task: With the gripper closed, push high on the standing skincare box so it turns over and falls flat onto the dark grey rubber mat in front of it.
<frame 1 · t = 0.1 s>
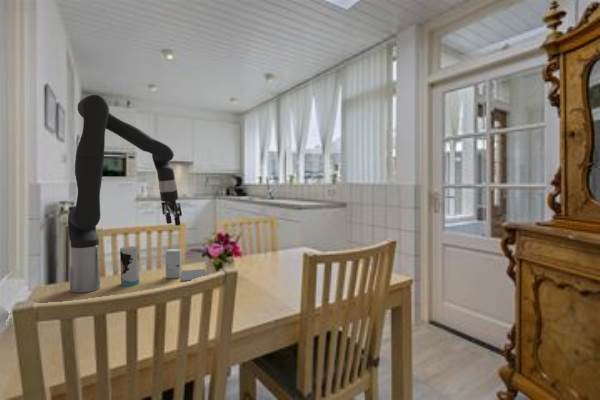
hand: (173, 224, 154), 22 cm above the table, tool pointing down, fingers open, 8 cm apart
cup: (130, 284, 137), on the table
skincare box: (173, 277, 147), on the table
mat: (195, 275, 150), on the table
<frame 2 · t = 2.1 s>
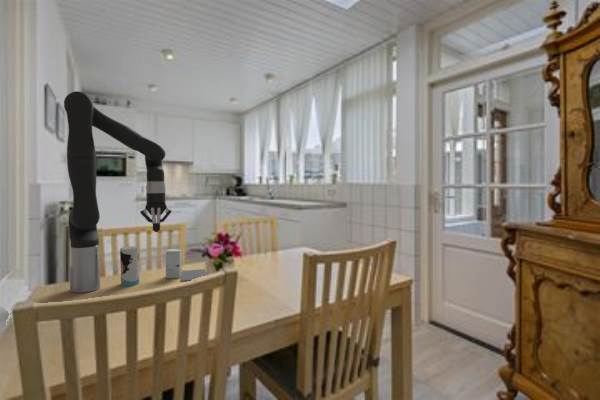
hand: (156, 231, 144), 21 cm above the table, tool pointing down, fingers closed
nothing on the table moved.
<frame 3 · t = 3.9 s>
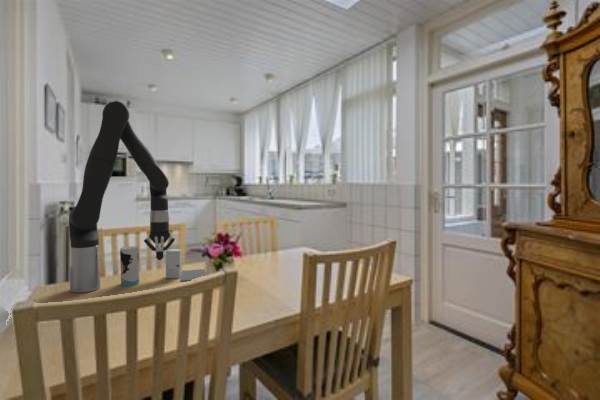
hand: (160, 259, 145), 8 cm above the table, tool pointing down, fingers closed
skincare box: (173, 277, 147), on the table, touching gripper
everything else where it was.
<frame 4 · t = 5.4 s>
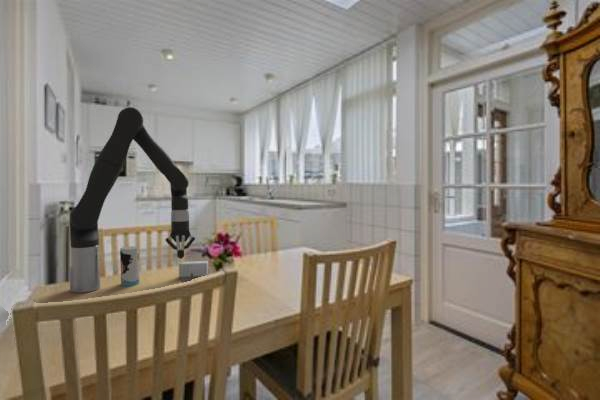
hand: (180, 258, 148), 8 cm above the table, tool pointing down, fingers closed
skincare box: (179, 269, 147), point 3 cm above the table, touching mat
everything else where it was.
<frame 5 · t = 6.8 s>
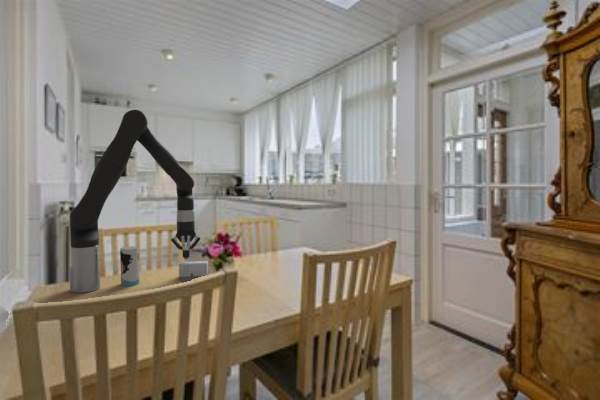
hand: (186, 258, 148), 8 cm above the table, tool pointing down, fingers closed
nothing on the table moved.
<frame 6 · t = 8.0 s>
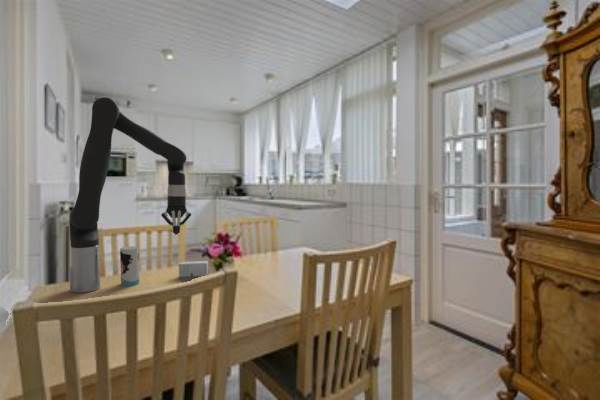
hand: (176, 234, 146), 19 cm above the table, tool pointing down, fingers closed
nothing on the table moved.
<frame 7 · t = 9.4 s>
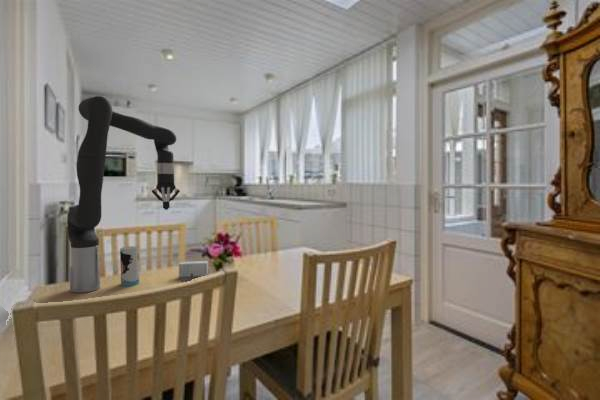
hand: (166, 209, 158), 29 cm above the table, tool pointing down, fingers closed
nothing on the table moved.
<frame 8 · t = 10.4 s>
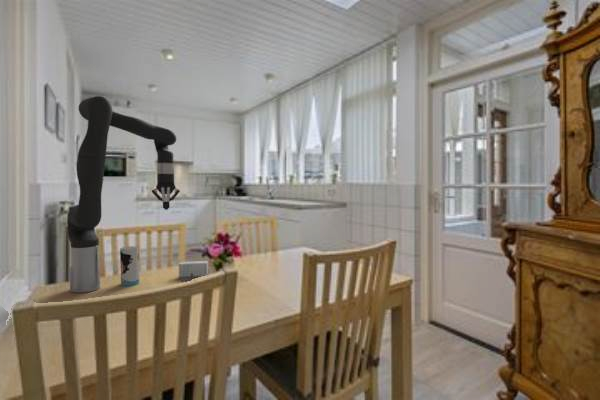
hand: (166, 209, 158), 29 cm above the table, tool pointing down, fingers closed
nothing on the table moved.
at the end: skincare box tilted 89°; skincare box inside the target area (3.5 cm from its centre), point 3.2 cm above the table; the gripper is holding nothing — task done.
